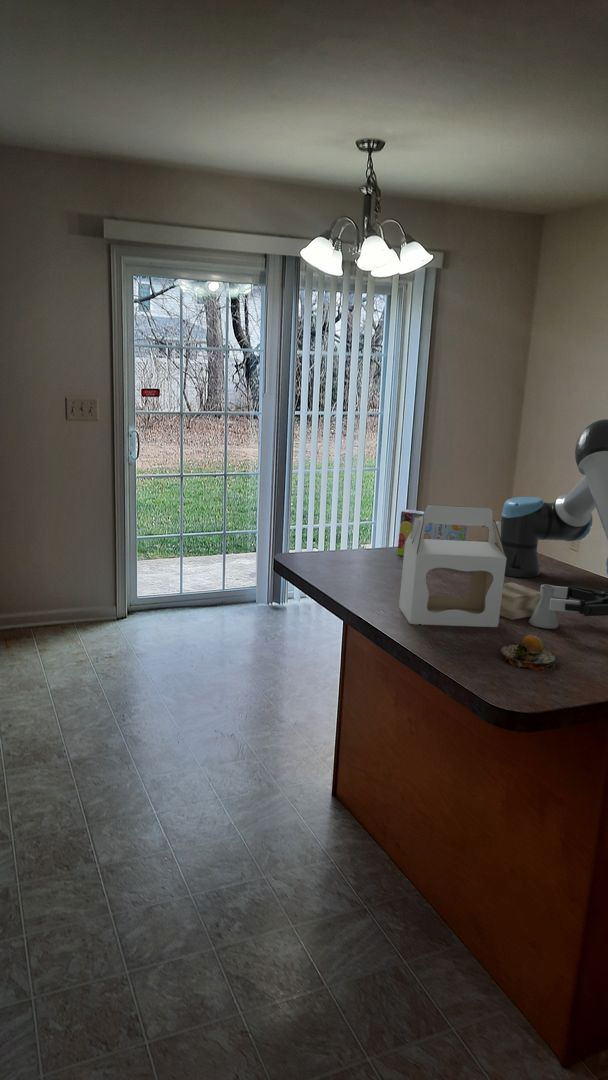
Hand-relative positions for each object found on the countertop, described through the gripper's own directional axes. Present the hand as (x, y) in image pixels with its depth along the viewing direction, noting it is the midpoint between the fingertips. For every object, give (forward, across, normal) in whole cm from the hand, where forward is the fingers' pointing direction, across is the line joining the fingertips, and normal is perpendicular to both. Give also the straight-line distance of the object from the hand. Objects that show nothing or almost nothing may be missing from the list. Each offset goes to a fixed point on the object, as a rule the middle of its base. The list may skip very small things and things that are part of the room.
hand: (544, 597), depth 190 cm
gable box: (+23, -2, -7) cm, 24 cm away
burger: (+7, -26, -8) cm, 29 cm away
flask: (-1, 0, -7) cm, 7 cm away
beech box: (+6, +9, -7) cm, 13 cm away
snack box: (+26, +62, -6) cm, 67 cm away
